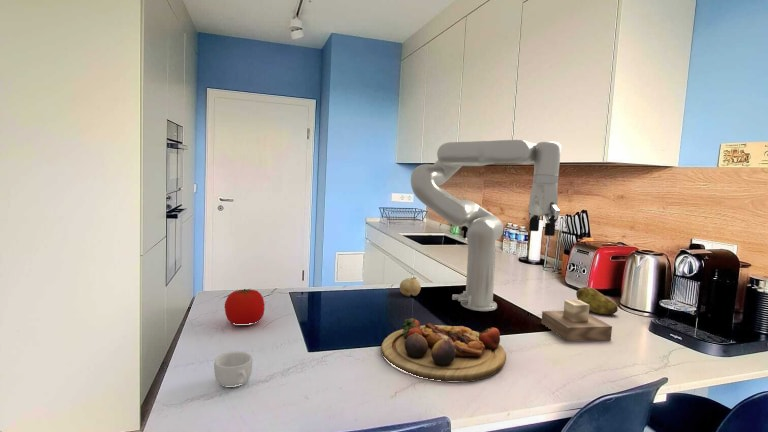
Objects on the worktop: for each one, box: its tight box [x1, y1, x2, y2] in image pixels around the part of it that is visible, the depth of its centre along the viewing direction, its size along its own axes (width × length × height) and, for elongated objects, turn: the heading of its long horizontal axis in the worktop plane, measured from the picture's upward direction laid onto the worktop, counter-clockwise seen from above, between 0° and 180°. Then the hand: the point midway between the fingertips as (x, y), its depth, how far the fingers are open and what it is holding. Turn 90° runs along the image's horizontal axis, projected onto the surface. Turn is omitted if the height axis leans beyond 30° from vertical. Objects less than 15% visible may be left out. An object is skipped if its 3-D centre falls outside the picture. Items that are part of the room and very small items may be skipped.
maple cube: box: [563, 299, 590, 322], centre depth 128 cm, size 5×5×5 cm
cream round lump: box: [399, 276, 422, 297], centre depth 160 cm, size 8×8×7 cm
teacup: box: [213, 351, 253, 386], centre depth 90 cm, size 10×8×5 cm
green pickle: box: [576, 286, 619, 315], centre depth 148 cm, size 8×13×8 cm, turn 33°
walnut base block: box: [541, 310, 613, 342], centre depth 128 cm, size 14×14×4 cm
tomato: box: [224, 288, 265, 324], centre depth 124 cm, size 11×12×10 cm
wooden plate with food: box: [380, 317, 507, 382], centre depth 109 cm, size 32×32×8 cm
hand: (541, 233), depth 137 cm, fingers open, 9 cm apart
